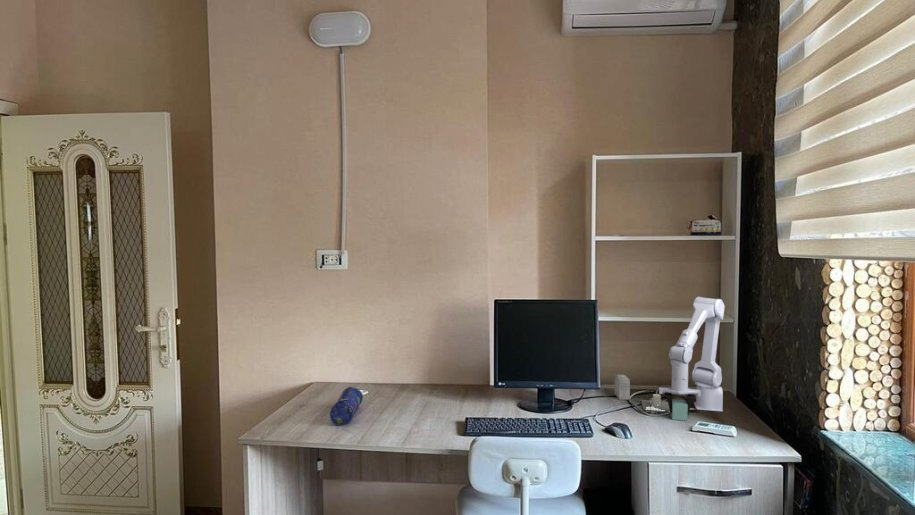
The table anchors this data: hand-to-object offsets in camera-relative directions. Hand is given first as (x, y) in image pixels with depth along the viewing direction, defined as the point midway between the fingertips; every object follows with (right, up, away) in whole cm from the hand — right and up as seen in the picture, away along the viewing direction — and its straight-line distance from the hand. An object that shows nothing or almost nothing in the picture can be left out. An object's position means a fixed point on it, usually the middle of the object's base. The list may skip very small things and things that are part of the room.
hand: (679, 413), depth 212 cm
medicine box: (-14, 0, +25) cm, 29 cm away
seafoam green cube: (0, -2, 0) cm, 2 cm away
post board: (-4, -1, +12) cm, 13 cm away
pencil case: (-126, -3, +4) cm, 126 cm away
